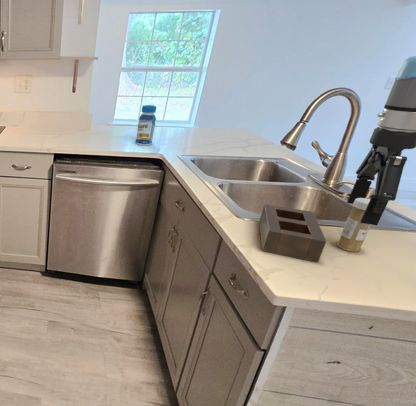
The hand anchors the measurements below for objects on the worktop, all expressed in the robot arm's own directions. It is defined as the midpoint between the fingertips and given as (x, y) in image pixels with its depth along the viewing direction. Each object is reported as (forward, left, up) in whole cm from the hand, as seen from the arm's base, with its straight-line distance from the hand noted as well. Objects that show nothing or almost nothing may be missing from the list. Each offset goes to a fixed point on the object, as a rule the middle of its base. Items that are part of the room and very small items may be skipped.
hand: (360, 213), depth 91 cm
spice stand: (+13, +3, -10) cm, 16 cm away
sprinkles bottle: (0, 0, -10) cm, 10 cm away
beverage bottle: (+66, -90, -10) cm, 112 cm away
